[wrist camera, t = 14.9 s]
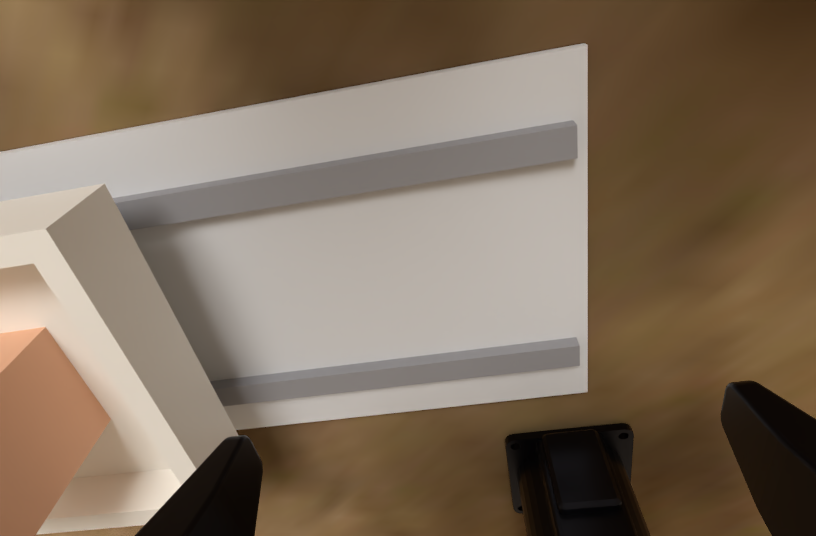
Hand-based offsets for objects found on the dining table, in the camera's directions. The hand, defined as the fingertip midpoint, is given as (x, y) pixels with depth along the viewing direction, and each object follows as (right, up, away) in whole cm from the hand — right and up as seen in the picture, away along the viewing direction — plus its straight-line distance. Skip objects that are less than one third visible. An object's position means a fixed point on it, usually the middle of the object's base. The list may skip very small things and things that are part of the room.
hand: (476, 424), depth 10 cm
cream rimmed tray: (-17, 0, +13) cm, 22 cm away
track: (-11, +1, +14) cm, 17 cm away
